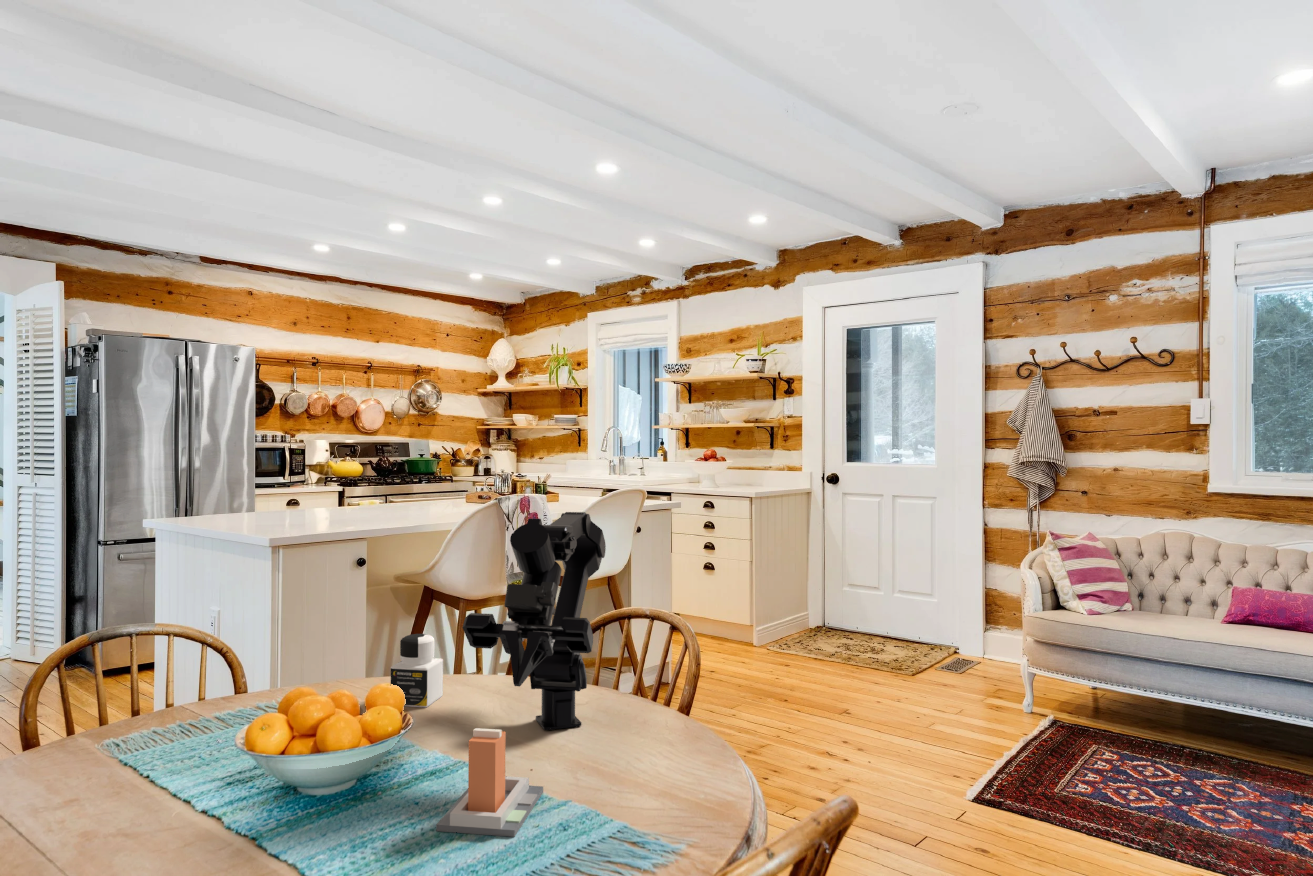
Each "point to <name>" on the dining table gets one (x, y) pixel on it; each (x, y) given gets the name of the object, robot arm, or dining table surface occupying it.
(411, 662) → the medicine bottle
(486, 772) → the orange juice carton
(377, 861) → the dining table surface
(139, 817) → the dining table surface
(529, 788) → the grey framed base plate
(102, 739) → the dining table surface
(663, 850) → the dining table surface
